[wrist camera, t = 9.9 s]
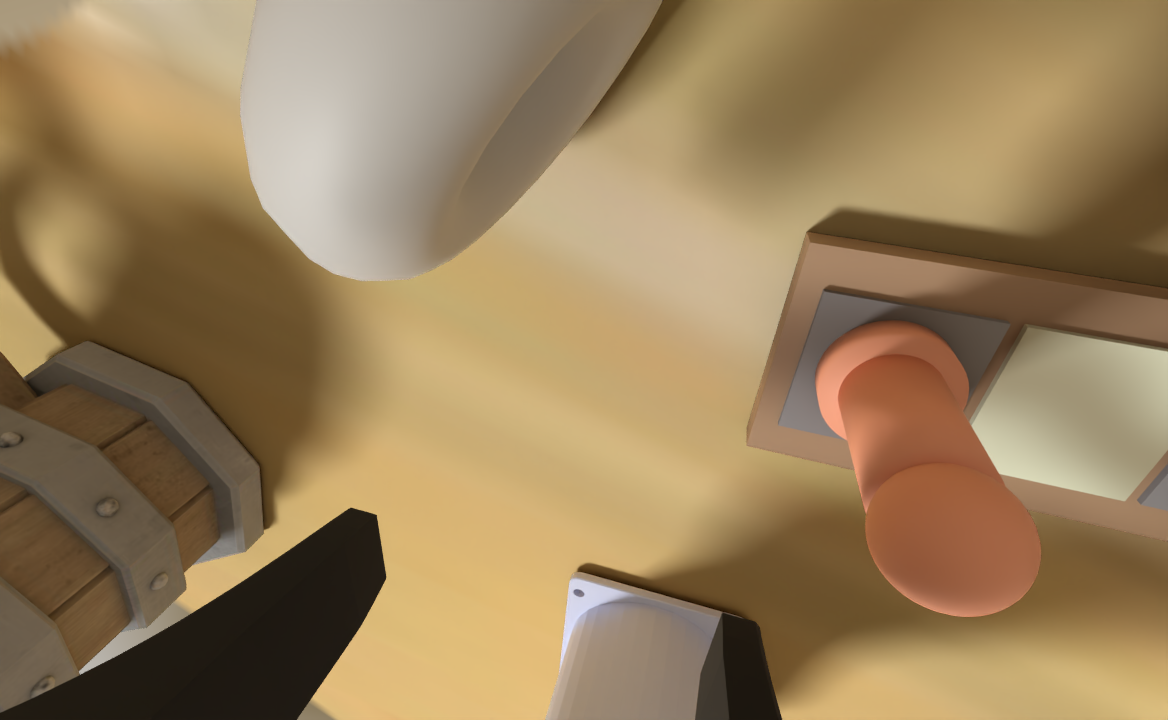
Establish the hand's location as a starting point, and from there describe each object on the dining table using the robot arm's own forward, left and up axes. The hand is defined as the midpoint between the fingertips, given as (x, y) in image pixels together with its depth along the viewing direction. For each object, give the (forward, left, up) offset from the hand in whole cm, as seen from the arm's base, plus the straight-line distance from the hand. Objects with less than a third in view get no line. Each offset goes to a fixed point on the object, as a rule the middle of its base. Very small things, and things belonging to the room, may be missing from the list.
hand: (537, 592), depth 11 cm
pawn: (+2, -8, -8) cm, 11 cm away
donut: (+9, +3, -10) cm, 13 cm away
